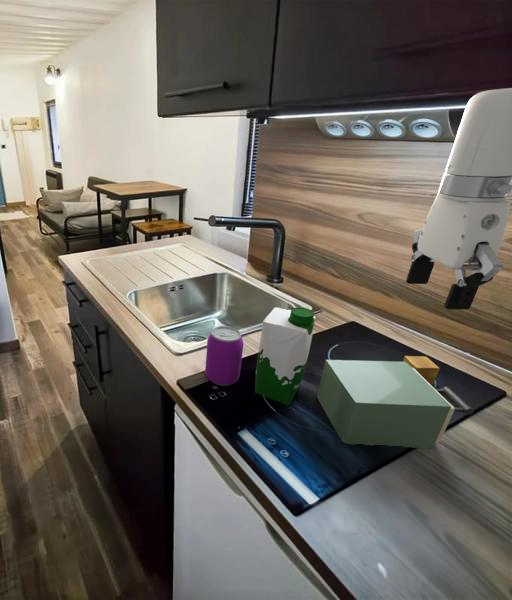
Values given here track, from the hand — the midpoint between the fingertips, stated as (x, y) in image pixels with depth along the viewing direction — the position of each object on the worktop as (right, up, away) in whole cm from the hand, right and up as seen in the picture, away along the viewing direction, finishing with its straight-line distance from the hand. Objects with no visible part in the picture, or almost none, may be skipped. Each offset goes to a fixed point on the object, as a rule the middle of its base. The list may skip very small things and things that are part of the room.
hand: (434, 295), depth 60 cm
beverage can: (-27, -19, +25) cm, 42 cm away
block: (+15, -18, +21) cm, 31 cm away
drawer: (+1, -23, +10) cm, 25 cm away
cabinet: (-3, -24, +11) cm, 27 cm away
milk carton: (-17, -21, +20) cm, 33 cm away
